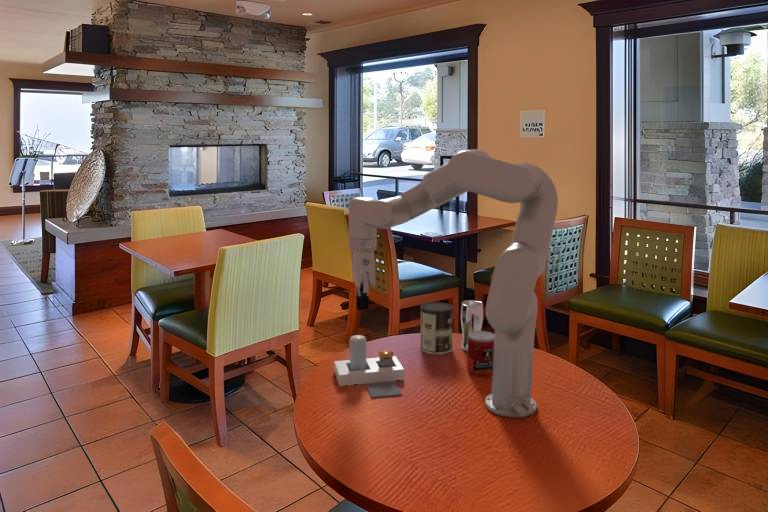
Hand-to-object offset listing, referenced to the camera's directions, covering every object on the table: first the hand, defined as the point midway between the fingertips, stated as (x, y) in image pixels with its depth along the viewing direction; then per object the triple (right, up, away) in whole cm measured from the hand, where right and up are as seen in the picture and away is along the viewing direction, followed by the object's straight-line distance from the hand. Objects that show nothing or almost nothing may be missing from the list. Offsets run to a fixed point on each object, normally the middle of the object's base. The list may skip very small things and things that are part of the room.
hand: (362, 309), depth 155 cm
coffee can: (+23, -15, +25) cm, 37 cm away
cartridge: (-1, -19, +3) cm, 20 cm away
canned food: (+34, -19, +7) cm, 39 cm away
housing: (+2, -19, +4) cm, 20 cm away
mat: (+6, -21, -5) cm, 22 cm away
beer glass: (+34, -15, +25) cm, 45 cm away
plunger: (+7, -18, +5) cm, 20 cm away
